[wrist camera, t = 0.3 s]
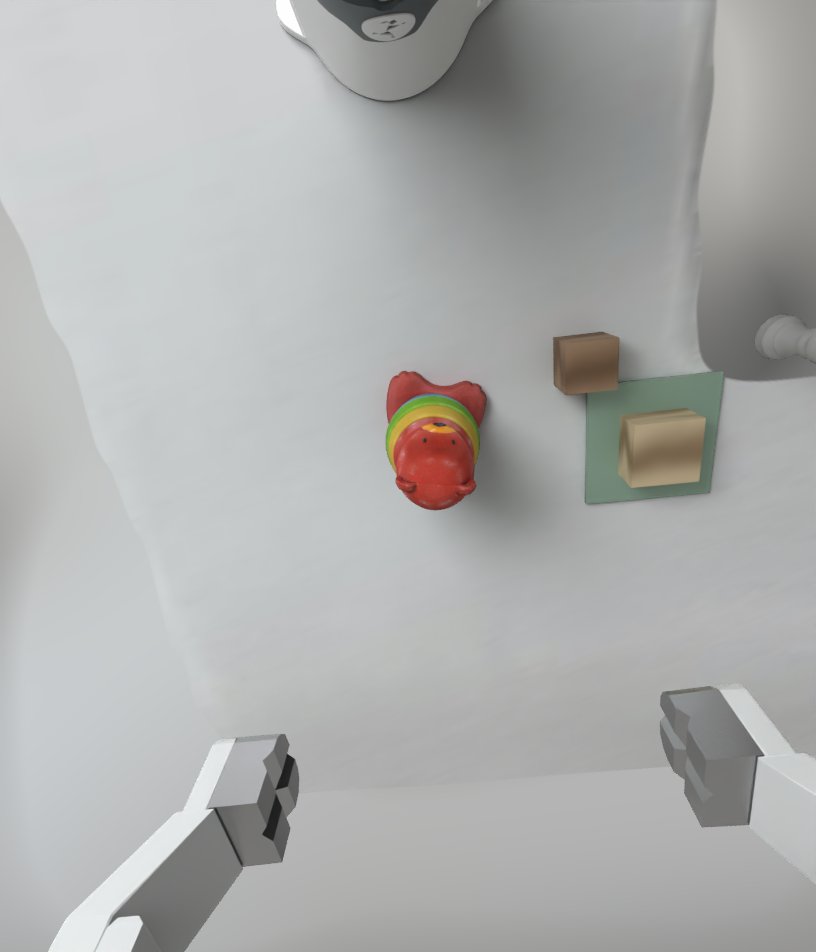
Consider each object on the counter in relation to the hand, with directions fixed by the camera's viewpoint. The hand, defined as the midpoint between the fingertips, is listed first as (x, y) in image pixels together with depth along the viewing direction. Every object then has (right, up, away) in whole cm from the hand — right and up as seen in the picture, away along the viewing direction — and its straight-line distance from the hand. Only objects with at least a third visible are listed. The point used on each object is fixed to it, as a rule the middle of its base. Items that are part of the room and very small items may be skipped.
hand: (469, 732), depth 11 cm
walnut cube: (+17, +18, +42) cm, 49 cm away
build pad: (+26, +10, +45) cm, 53 cm away
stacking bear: (+1, +12, +45) cm, 47 cm away
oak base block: (+26, +9, +45) cm, 52 cm away
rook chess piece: (+36, +20, +41) cm, 58 cm away
